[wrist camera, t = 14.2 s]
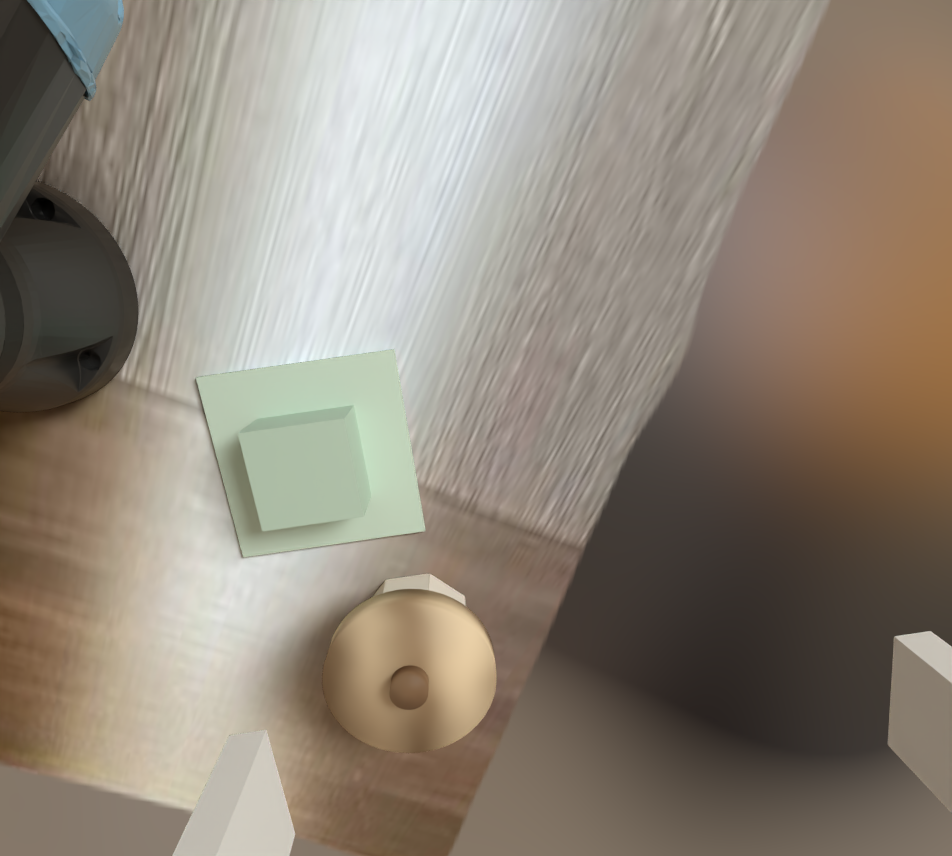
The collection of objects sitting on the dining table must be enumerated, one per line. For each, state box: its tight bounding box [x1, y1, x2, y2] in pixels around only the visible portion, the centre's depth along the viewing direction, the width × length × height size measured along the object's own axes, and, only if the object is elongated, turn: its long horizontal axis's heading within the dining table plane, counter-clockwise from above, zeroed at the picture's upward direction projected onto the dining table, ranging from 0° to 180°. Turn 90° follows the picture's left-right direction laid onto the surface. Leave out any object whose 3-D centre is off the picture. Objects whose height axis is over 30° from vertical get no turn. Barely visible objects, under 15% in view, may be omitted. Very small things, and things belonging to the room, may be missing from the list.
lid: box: [322, 589, 497, 753], centre depth 41 cm, size 12×12×3 cm
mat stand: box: [196, 349, 425, 557], centre depth 41 cm, size 14×14×4 cm
